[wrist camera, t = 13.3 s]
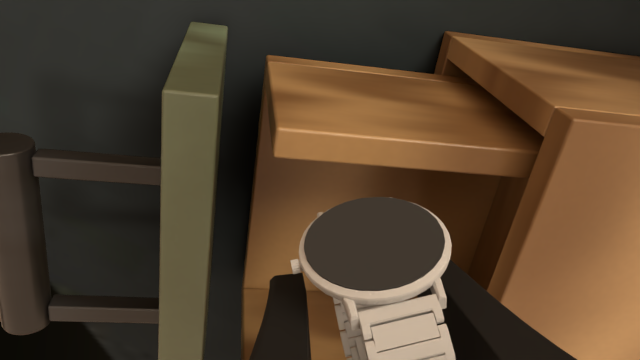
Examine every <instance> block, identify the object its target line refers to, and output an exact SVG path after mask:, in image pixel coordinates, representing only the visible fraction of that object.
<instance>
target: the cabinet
mask: <svg viewBox="0 0 640 360" xmlns="http://www.w3.org/2000/svg"><path fill="white" fill-rule="evenodd" d="M434 74H436V75H445V76H454V77H462V78H471V79H473V80H475V81H476V82H477V83H478V84H479V85H481V86H482V87H483V88H484V89H486V90H487V91H488V92H489V93H491V94H492V95H493V96H494V97H495V98H497V99H498V100H499V101H500V102H502V103H503V104H504V105H505V106H507V107H508V108H509V109H510V110H511V111H513V112H514V113H515V114H516V115H518V116H519V117H520V118H521V119H522V120H524V121H525V122H526V123H527V124H529V125H530V126H531V127H532V128H534V129H535V130H536V131H537V132H538V133H540V134H541V135H542V136H544V140H543V142H542V145H541V148H540V150H539V153H538V156H537V158H536V161H535V164H534V166H533V169H532V172H531V174H530V177H529V180H528V182H527V185H526V188H525V190H524V193H523V196H522V198H521V201H520V204H519V206H518V209H517V212H516V214H515V217H514V220H513V222H512V225H511V228H510V230H509V233H508V236H507V238H506V241H505V244H504V246H503V249H502V252H501V254H500V257H499V260H498V262H497V265H496V268H495V270H494V273H493V276H492V278H491V281H490V284H489V286H488V289H487V292H488V293H490V294H491V295H492V296H493V297H494V298H495V299H497V300H498V301H499V302H500V303H501V304H503V305H504V306H505V307H506V308H508V309H509V310H510V311H511V312H513V313H514V314H515V315H516V316H518V317H519V318H520V319H521V320H523V321H524V322H525V323H527V324H528V325H529V326H531V327H532V328H533V329H535V330H536V331H537V332H539V333H540V334H541V335H543V336H544V337H546V338H547V339H548V340H550V341H551V342H552V343H554V344H555V345H557V346H558V347H559V348H561V349H562V350H564V351H565V352H567V353H568V354H570V355H571V356H573V357H574V358H576V359H577V360H640V57H638V56H631V55H623V54H616V53H608V52H601V51H593V50H586V49H578V48H571V47H563V46H556V45H548V44H541V43H533V42H526V41H518V40H510V39H503V38H495V37H488V36H480V35H473V34H465V33H458V32H450V31H445V33H444V37H443V41H442V44H441V48H440V52H439V56H438V60H437V64H436V68H435V72H434Z"/></svg>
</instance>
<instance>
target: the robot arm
mask: <svg viewBox="0 0 640 360" xmlns="http://www.w3.org/2000/svg"><path fill="white" fill-rule="evenodd" d="M440 278H441V281H442V284H443V288H444V291H445V294H446V297H447V303H446V308H445V309H442V312H443V316H444V323H440V324H437V326H438V325H441V324H446V325H447V328H448V330H449V334H450V338H451V342H452V346H453V349H454V353H455V358H456V360H577V359H576V358H574V357H573V356H571V355H570V354H568V353H567V352H565V351H564V350H562V349H561V348H559V347H558V346H557V345H555V344H554V343H552V342H551V341H550V340H548V339H547V338H546V337H544V336H543V335H541V334H540V333H539V332H537V331H536V330H535V329H533V328H532V327H531V326H529V325H528V324H527V323H525V322H524V321H523V320H521V319H520V318H519V317H518V316H516V315H515V314H514V313H513V312H511V311H510V310H509V309H508V308H506V307H505V306H504V305H503V304H501V303H500V302H499V301H498V300H497V299H495V298H494V297H493V296H492V295H491V294H490V293H488V292H487V291H486V290H485V289H484V288H483V287H481V286H480V285H479V284H478V283H477V282H476V281H474V280H473V279H472V278H471V277H470V276H469V275H468V274H466V273H465V272H464V271H463V270H462V269H461V268H460V267H458V266H457V265H456V264H455V263H454V262H453V261H451V260H449V263H448V266H447V268H446V270H445V272H444V273H443V274H442V276H441V277H440ZM428 295H432V292H431V290H430V288H429V289H427V290H426V291H424V292H422V293H421V294H419V295H417V298H419V297H423V296H428ZM436 338H437V337H436ZM432 339H433V338H432ZM428 340H429V339H428ZM424 341H425V340H424ZM420 342H421V341H420ZM249 360H311V348H310V334H309V320H308V305H307V293H306V288H305V282H304V277H303V273H297V274H285V275H276V276H274V277H273V278H272V279H271V280H270V286H269V294H268V300H267V304H266V308H265V312H264V316H263V320H262V323H261V326H260V329H259V332H258V335H257V338H256V341H255V344H254V347H253V350H252V353H251V356H250V358H249Z"/></svg>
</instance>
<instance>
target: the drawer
mask: <svg viewBox="0 0 640 360" xmlns="http://www.w3.org/2000/svg"><path fill="white" fill-rule="evenodd" d="M227 35H228V27H227V26H222V25H214V24H206V23H198V22H191V23H190V25H189V28H188V30H187V33H186V35H185V37H184V40H183V42H182V45H181V47H180V49H179V52H178V54H177V57H176V59H175V61H174V64H173V66H172V69H171V71H170V73H169V76H168V78H167V81H166V83H165V85H164V88H163V90H162V118H161V158H154V157H141V156H128V155H115V154H103V153H90V152H77V151H64V150H52V149H38V150H37V151H36V149H35V142H34V140H33V139H32V138H31V137H29V136H27V135H24V134H19V133H0V318H1V324H2V327H3V329H4V330H5V331H7V332H8V333H11V334H14V335H27V334H31V333H35V332H37V331H40V330H41V329H43V328H44V327H46V326H47V325H48V324H49V323H50V321H75V322H76V321H77V322H117V323H159V335H158V360H204V352H205V340H206V329H207V317H208V306H209V294H210V279H211V265H212V251H213V236H214V222H215V207H216V193H217V179H218V164H219V150H220V136H221V121H222V107H223V93H224V78H225V64H226V49H227ZM543 140H544V136H542V135H541V134H540V133H538V132H537V131H536V130H535V129H534V128H532V127H531V126H530V125H529V124H527V123H526V122H525V121H524V120H522V119H521V118H520V117H519V116H518V115H516V114H515V113H514V112H513V111H511V110H510V109H509V108H508V107H507V106H505V105H504V104H503V103H502V102H500V101H499V100H498V99H497V98H495V97H494V96H493V95H492V94H491V93H489V92H488V91H487V90H486V89H484V88H483V87H482V86H481V85H479V84H478V83H477V82H476V81H475V80H473V79H471V78H462V77H454V76H445V75H436V74H428V73H419V72H411V71H402V70H393V69H385V68H376V67H368V66H359V65H351V64H342V63H333V62H325V61H316V60H308V59H299V58H290V57H282V56H273V55H267V56H266V62H265V71H264V81H263V90H262V100H261V109H260V119H259V128H258V138H257V148H256V157H255V167H254V176H253V186H252V195H251V205H250V214H249V224H248V234H247V243H246V253H245V262H244V272H243V281H242V305H241V360H249V358H250V356H251V353H252V350H253V347H254V344H255V341H256V338H257V335H258V332H259V329H260V326H261V323H262V320H263V316H264V312H265V308H266V304H267V300H268V294H269V286H270V280H271V279H272V278H273V277H274V276H276V275H285V274H293V271H292V267H291V262H290V260H294V259H298V261H299V259H300V258H299V245H300V241H301V238H302V236H303V233H304V231H305V230H306V229H307V227H308V226H309V225H310V223H311V222H313V221H314V220H315V219H316V218H317V213H318V212H323V213H324V212H325V211H327V210H328V209H331V208H333V207H335V206H337V205H339V204H342V203H344V202H347V201H351V200H355V199H359V198H368V197H392V198H396V199H401V200H406V201H408V202H411V203H415V204H417V205H419V206H421V207H423V208H425V209H427V210H429V211H430V212H432V213H433V214H434V215H436V216H437V217H438V218H439V219H440V220H441V221H442V223H443V224H444V225H445V227H446V229H447V231H448V232H449V235H450V239H451V243H452V247H451V257H450V260H451V261H453V262H454V263H455V264H456V265H457V266H458V267H460V268H461V269H462V270H463V271H464V272H465V273H466V274H468V275H469V276H470V277H471V278H472V279H473V280H474V281H476V282H477V283H478V284H479V285H480V286H481V287H483V288H484V289H485V290H486V291H487V289H488V286H489V284H490V281H491V278H492V276H493V273H494V270H495V268H496V265H497V262H498V260H499V257H500V254H501V252H502V249H503V246H504V244H505V241H506V238H507V236H508V233H509V230H510V228H511V225H512V222H513V220H514V217H515V214H516V212H517V209H518V206H519V204H520V201H521V198H522V196H523V193H524V190H525V188H526V185H527V182H528V180H529V177H530V174H531V172H532V169H533V166H534V164H535V161H536V158H537V156H538V153H539V150H540V148H541V145H542V142H543ZM39 177H46V178H61V179H75V180H89V181H104V182H118V183H133V184H147V185H161V190H160V263H159V298H146V297H115V296H84V295H53V297H52V299H51V291H50V281H49V272H48V262H47V253H46V243H45V234H44V224H43V215H42V205H41V196H40V187H39ZM299 265H300V264H299ZM300 270H301V269H300ZM300 273H303V277H304V282H305V288H306V293H307V305H308V320H309V334H310V348H311V360H346V359H347V358H351V357H352V356H349V357H345V353H344V349H343V345H342V340H341V336H340V332H341V331H346V330H345V329H344V330H339V327H338V322H337V317H336V312H335V307H334V306H335V305H339V304H340V303H339V304H335V305H334V302H333V297H331V296H329V295H327V294H325V293H324V292H323V291H321V290H320V289H319V288H317V287H316V286H315V285H314V284H313V283H312V282H311V281H310V280H309V279H308V277H307V276H306V274H305V272H304V271H301V272H300ZM415 298H417V296H415V297H413V298H410V299H407V300H411V299H415ZM407 300H404V301H407ZM401 302H402V301H401ZM396 303H398V302H396ZM392 304H394V303H392ZM389 305H390V304H389ZM359 336H360V335H359ZM354 337H356V336H354ZM350 338H352V337H350ZM407 345H408V344H407ZM403 346H404V345H403ZM355 347H356V346H355ZM399 347H400V346H399ZM351 348H353V347H351Z"/></svg>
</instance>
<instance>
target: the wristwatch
mask: <svg viewBox="0 0 640 360" xmlns="http://www.w3.org/2000/svg"><path fill="white" fill-rule="evenodd" d="M451 247H452V243H451V239H450V235H449V232H448V231H447V229H446V227H445V225H444V224H443V223H442V221H441V220H440V219H439V218H438V217H437V216H436V215H434V214H433V213H432V212H430V211H429V210H427V209H425V208H423V207H421V206H419V205H417V204H415V203H411V202H408V201H406V200H401V199H396V198H392V197H368V198H359V199H355V200H351V201H347V202H344V203H342V204H339V205H337V206H335V207H333V208H331V209H328V210H327V211H325V212H324V213H323V212H318V213H317V218H316V219H315V220H314V221H313V222H311V223H310V225H309V226H308V227H307V229H306V230H305V231H304V233H303V236H302V238H301V241H300V245H299V258H300V259H299V261H298V259H294V260H290V262H291V267H292V271H293V274H297V273H300V272H301V271H304V272H305V274H306V276H307V277H308V279H309V280H310V281H311V282H312V283H313V284H314V285H315V286H316V287H317V288H319V289H320V290H321V291H323V292H324V293H325V294H327V295H329V296H331V297H333V302H334V305H335V304H339V303H340V304H339V305H335V306H334V307H335V312H336V317H337V322H338V327H339V330H344V329H345V330H346V331H341V332H340V336H341V340H342V345H343V349H344V353H345V357H349V356H352V357H351V358H347V359H346V360H456V358H455V353H454V349H453V346H452V342H451V338H450V334H449V330H448V328H447V325H446V324H441V325H438V326H437V324H440V323H444V316H443V312H442V309H445V308H446V303H447V297H446V294H445V291H444V288H443V284H442V281H441V278H440V277H441V276H442V274H443V273H444V272H445V270H446V268H447V266H448V263H449V260H450V257H451ZM299 264H300V265H299ZM300 269H301V270H300ZM429 288H430V290H431V292H432V295H428V296H423V297H419V298H415V299H411V300H407V299H410V298H413V297H415V296H417V295H419V294H421V293H422V292H424V291H426V290H427V289H429ZM404 300H407V301H404ZM401 301H402V302H401ZM396 302H398V303H396ZM392 303H394V304H392ZM389 304H390V305H389ZM359 335H360V336H359ZM354 336H356V337H354ZM350 337H352V338H350ZM436 337H437V338H436ZM432 338H433V339H432ZM428 339H429V340H428ZM424 340H425V341H424ZM420 341H421V342H420ZM407 344H408V345H407ZM403 345H404V346H403ZM355 346H356V347H355ZM399 346H400V347H399ZM351 347H353V348H351Z"/></svg>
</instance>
